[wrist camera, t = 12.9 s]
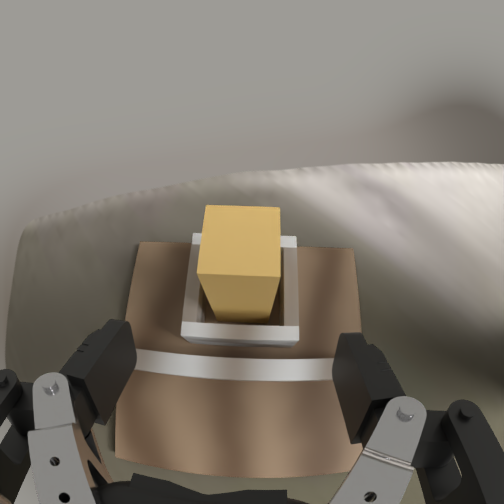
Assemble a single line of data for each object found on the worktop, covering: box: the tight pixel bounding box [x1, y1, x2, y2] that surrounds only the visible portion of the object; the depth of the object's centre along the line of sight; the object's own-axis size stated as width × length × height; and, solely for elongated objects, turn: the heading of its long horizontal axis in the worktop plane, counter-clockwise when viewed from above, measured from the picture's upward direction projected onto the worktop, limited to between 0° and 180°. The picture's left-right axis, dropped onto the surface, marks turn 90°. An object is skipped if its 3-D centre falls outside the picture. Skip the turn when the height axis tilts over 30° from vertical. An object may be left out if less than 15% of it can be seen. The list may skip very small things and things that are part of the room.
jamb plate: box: [115, 233, 362, 478], centre depth 20 cm, size 20×20×4 cm
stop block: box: [197, 205, 281, 323], centre depth 19 cm, size 4×4×10 cm
